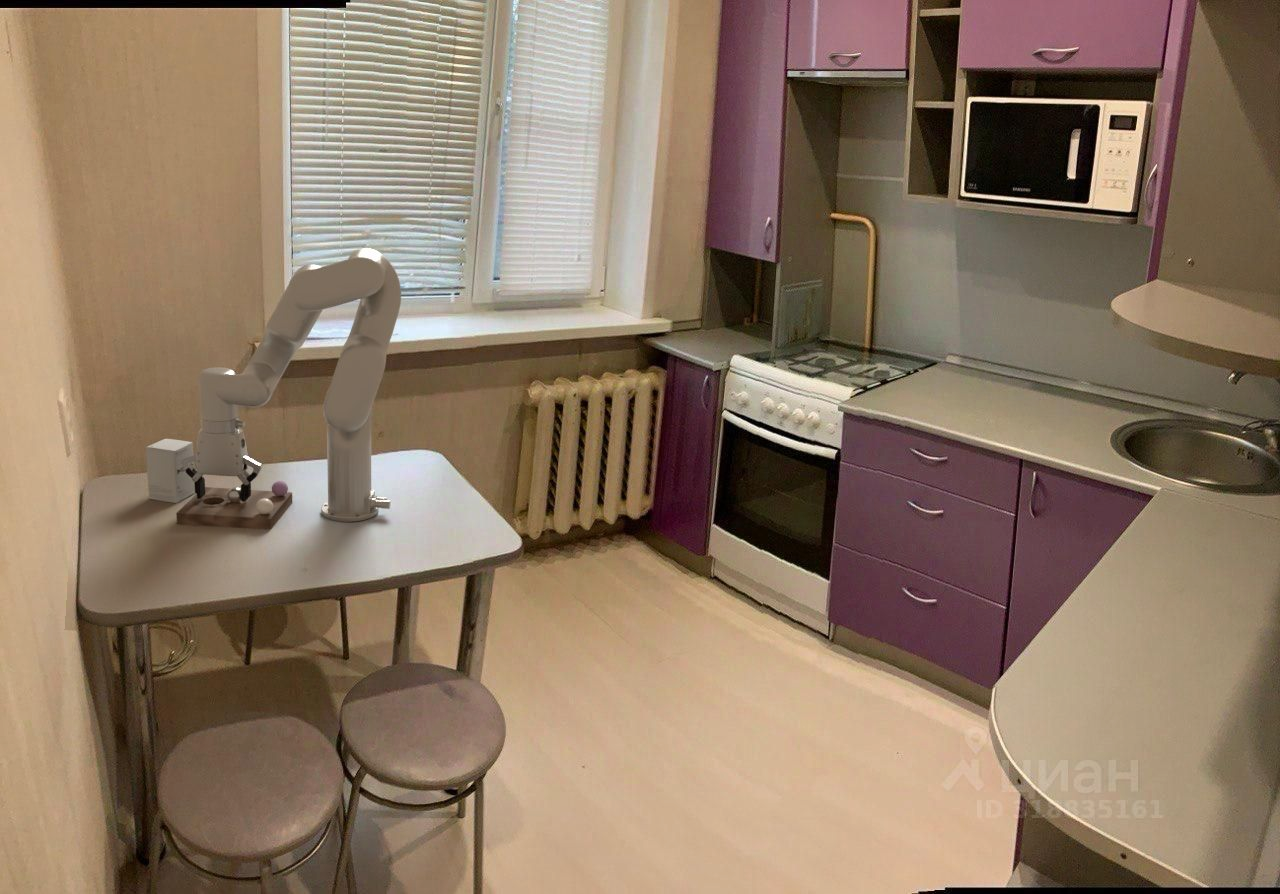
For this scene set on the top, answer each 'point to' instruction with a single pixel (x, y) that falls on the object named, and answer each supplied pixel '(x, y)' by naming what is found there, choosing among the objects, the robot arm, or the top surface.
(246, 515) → the board
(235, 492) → the steel ball
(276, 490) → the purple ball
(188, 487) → the supplement box
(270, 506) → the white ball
